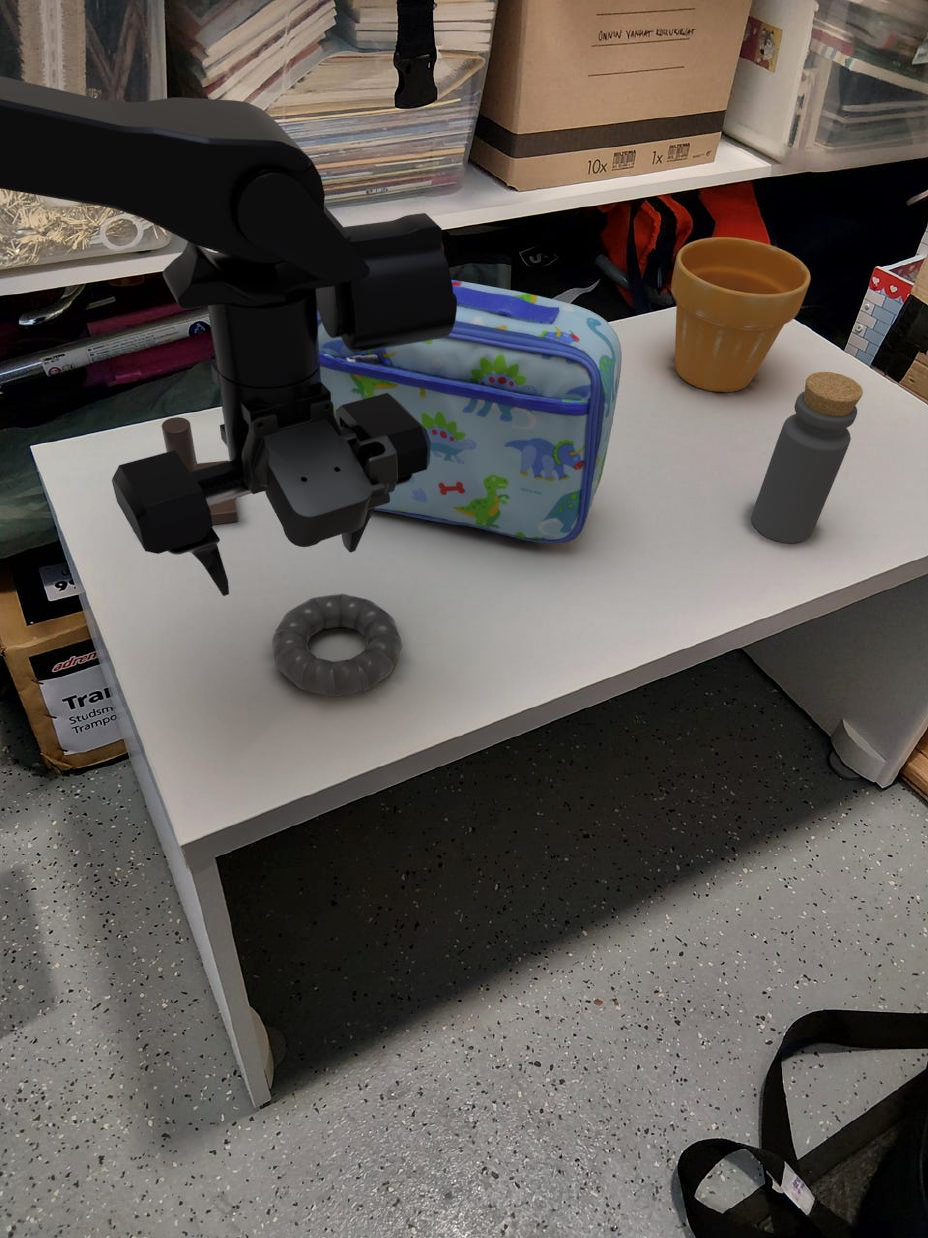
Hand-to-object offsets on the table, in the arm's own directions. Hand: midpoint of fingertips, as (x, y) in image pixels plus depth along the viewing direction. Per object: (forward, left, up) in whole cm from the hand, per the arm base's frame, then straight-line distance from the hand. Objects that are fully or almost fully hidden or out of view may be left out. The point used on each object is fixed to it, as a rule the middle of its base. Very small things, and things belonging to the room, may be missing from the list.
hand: (288, 569), depth 63 cm
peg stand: (-7, +24, -12) cm, 28 cm away
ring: (+3, +2, -10) cm, 11 cm away
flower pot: (+53, +37, -12) cm, 66 cm away
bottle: (+47, +10, -12) cm, 50 cm away
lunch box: (+17, +19, -12) cm, 29 cm away
